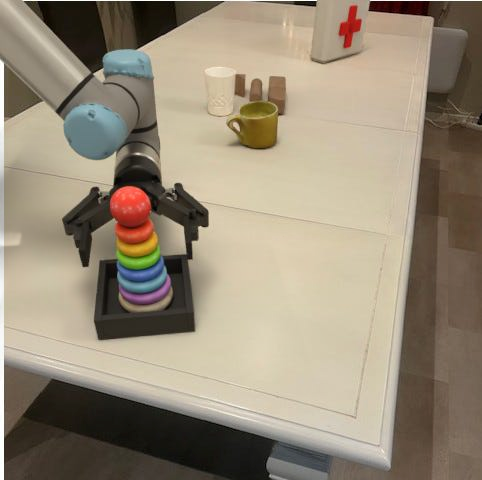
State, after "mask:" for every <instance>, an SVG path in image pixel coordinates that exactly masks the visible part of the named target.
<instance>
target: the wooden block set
mask: <svg viewBox="0 0 482 480" xmlns="http://www.w3.org/2000/svg"><path fill="white" fill-rule="evenodd" d="M286 80H287V79H286V76H281V75H279V76H278V75H277V76H276V75H270V76H269V78H268V91H267V93H268V95H267V102H271V103H274V104H275V105H276V106H277V108H278V115H283V114H284V113H285V107H286V91H287V81H286ZM235 95H236V96H239V97H241V98H245V95H246V73H236V78H235ZM262 95H263V81H262V80H261V78H257V77H256V78H253V79H252V80H251V83H250V90H249V97H248V99H249V102H255V101H262Z"/></svg>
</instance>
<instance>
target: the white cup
mask: <svg viewBox="0 0 482 480" xmlns="http://www.w3.org/2000/svg"><path fill="white" fill-rule="evenodd" d="M236 74H237V71H236V70H235V69H234V68H232V67H231V68H230V67H227V66H214V67H209V68H207V69H205V70H204V80H205V81H204V82H205V95H206V96H205V97H206V102H207V103H206V104H207V112H208V114H210V115H212V116H217V117H226V116H230V115H232V114H233V113H234V102H235V95H236V94H235V78H236Z"/></svg>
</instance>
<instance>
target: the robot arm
mask: <svg viewBox="0 0 482 480" xmlns="http://www.w3.org/2000/svg"><path fill="white" fill-rule="evenodd" d="M0 61H1V62H2V63H3V64H4V65H5V67H7V68H8V69H9V70H11V72H12V73H13V74H15V76H16V77H18V79H20V81H22V82H23V83H24V84H25V85H26V86H27V87H28V88H29V89H30V90H31V91H32V92H33V93H34V94H35V95H36V96H37V97H39V99H41V100H42V101H43V102H44V103H45V104H46V105H47V106H48V107H49V108H50V109H51V110H52V111H53V112H54V113H55V114H56V115H58V117H59V118H60V119H62V120H63V135H64V137H65V139H66V141H67V143H68V146H69V147H70V148H71V149H72V151H73V152H75V153H76V154H77V155H79V156H80V157H82V158H85V159H87V160H90V161H102V160H106V159H108V158H111V156H113V155H114V154H115V162H114V171H113V173H114V174H113V183H112V184H113V185H112V188H111V189H110V190H109V191H101V190H100V187H99V186H92V187H91V188H90V190H89V192H88V194H87V195H86V196H85V197H84V198H83V199H82V200H80V201H79V203H78V204H76V205H75V206H74V207H73V208H72V209H71V210H69V212H67V213H66V214H65V215H64V216H63V217H62V218H61V222H62V225H63V229H64V233H65V236H67V237H71V236H72V239H73V243H74V247H75V248H76V249H78V251H77V252H78V255H79V258H80V263H81V267H82V268H89V266H90V258H91V251H92V243H93V235H92V234H93V233H94V232H96V231H97V230H98V229H100V228H102V227H103V226H104V225H106V224H107V223H109V222H110V221H113V220H115V219H114V217H113V216H112V213H111V210H110V201H111V198H112V196H113V194H114V193H115V192H116V191H117V190H119V189H120V188H123V187H127V186H132V187H136V188H139V189H141V190H142V191H143V192H145V194H146V195H147V196H148V198H149V200H150V203H151V211H150V213H153V214H155V215H157V216H159V217H161V216H163V217H165V218H167V219H168V220H171V221H173V222H175V223H176V224H178V225H180V226H181V227H183V235H184V243H185V244H184V245H185V251H186V253H185V254H187V260H188V261H191V260H194V256H193V255H194V254H193V253H194V252H193V242H197V241H199V240H200V235H199V233H200V230H199V227H201V228H208V227H209V226H210V217H209V216H210V215H209V210H208V208H207V207H205V206H204V205H203V204H202V203H200V202H199V201H198V200H197V199H196V198H194V196H192V195H191V194H190V193H189V192H188V191H187V190H185V189H184V185H183V184H182V183H181V182H175V183H174V184H173V187H171V188H170V187H169V188H165V187H164V186H163V178H162V162H161V140H160V134H159V124H158V119H157V105H156V95H155V82H154V80H155V76H154V72H153V66H152V60H151V58H150V56H149V55H148V54H147V53H146V52H144V51H141V50H139V49H116V50H112V51H109V52H107V53H105V54H104V56H103V57H102V68H103V70H102V74H103V76H104V80H103V81H102V82H101V80H100V79H99V78H98V77H97V76H96V75H95V74H94V73H93V72H91V70H90V69H89V68H88V67H87V66H86V65H85V64H84V63H83V62H82V61H81V60H80V59H79V58H78V57H77V56H76V54H74V52H73V51H72V50H71V49H69V47H67V45H66V44H65V43H64V42H63V41H62V40H61V39H60V38H59V37H58V35H56V34H55V33H54V32H53V30H51V28H50V27H49V26H48V25H46V23H45V22H44V21H43V20H42V19H41V18H40V16H38V15H37V14H36V13H35V12H34V11H33V10H32V9H31V7H30V6H28V5H27V3H26V2H25V1H24V0H0Z"/></svg>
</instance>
